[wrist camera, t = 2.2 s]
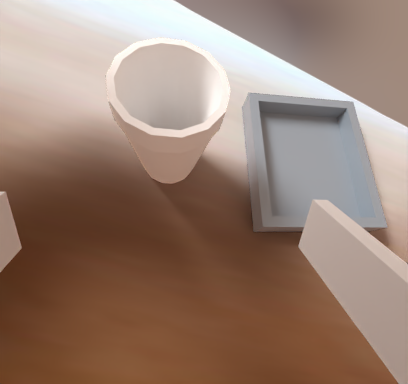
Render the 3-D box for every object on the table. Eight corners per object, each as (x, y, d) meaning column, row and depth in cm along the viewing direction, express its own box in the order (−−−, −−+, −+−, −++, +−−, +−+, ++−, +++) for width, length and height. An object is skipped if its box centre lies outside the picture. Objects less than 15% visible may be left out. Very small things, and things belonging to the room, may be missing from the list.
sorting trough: (253, 231, 29) (262, 226, 26) (242, 107, 35) (248, 92, 32) (367, 231, 31) (387, 227, 29) (338, 115, 37) (353, 101, 34)
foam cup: (217, 149, 32) (248, 72, 20) (184, 209, 29) (198, 159, 17) (154, 117, 32) (147, 21, 20) (114, 172, 29) (77, 96, 17)
